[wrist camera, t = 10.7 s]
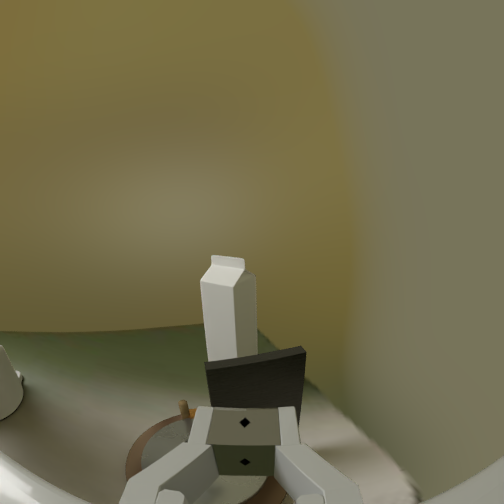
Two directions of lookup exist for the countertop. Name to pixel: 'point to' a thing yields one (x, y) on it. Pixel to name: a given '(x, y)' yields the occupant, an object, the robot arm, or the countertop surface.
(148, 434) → the post base
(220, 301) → the milk
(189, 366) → the countertop surface
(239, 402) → the grey finned round piece
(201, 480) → the robot arm
